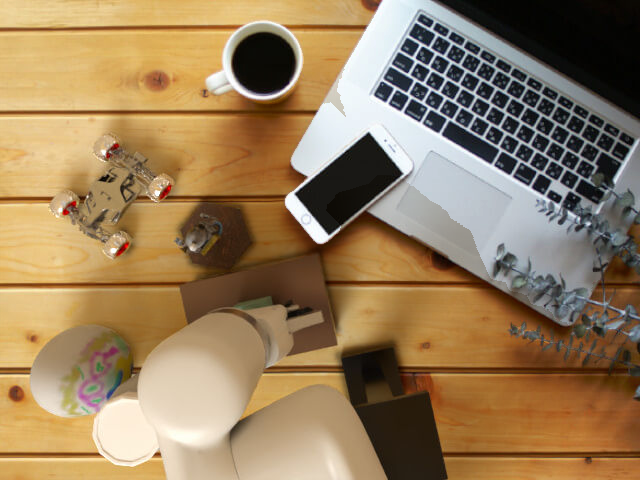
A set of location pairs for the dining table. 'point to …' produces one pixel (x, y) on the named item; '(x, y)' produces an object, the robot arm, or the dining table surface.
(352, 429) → the robot arm
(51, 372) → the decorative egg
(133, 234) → the dining table surface
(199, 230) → the robot figurine
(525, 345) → the dining table surface
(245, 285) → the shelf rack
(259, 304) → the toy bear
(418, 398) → the plant stand
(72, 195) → the toy car
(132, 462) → the jar
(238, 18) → the dining table surface
